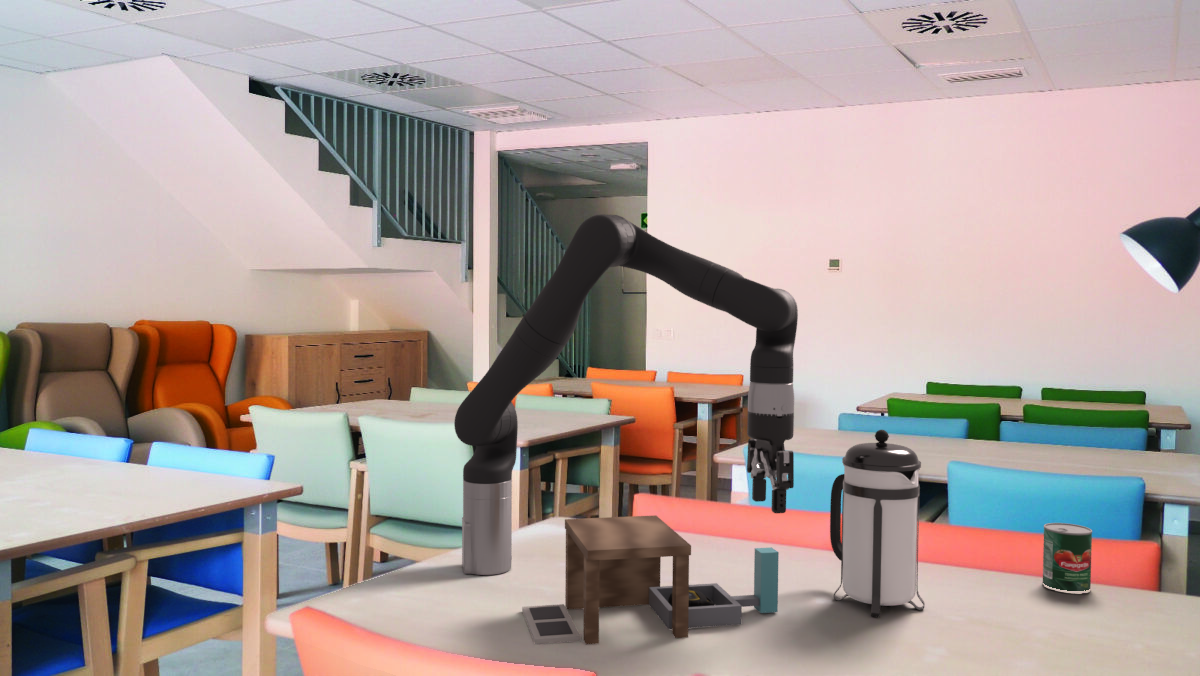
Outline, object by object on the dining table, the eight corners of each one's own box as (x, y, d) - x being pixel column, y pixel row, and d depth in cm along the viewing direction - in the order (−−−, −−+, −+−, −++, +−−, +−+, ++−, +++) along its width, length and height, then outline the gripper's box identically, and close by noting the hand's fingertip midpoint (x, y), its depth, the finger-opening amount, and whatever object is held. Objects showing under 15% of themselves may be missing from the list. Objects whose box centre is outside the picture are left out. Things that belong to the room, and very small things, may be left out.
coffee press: (929, 596, 165) (933, 426, 163) (919, 624, 150) (923, 438, 149) (829, 582, 172) (832, 420, 171) (810, 608, 157) (813, 431, 156)
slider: (668, 629, 146) (669, 566, 146) (648, 604, 158) (649, 546, 158) (788, 621, 150) (789, 559, 150) (760, 597, 162) (761, 540, 162)
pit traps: (534, 644, 140) (534, 638, 140) (522, 611, 155) (522, 606, 155) (580, 641, 142) (580, 635, 142) (563, 608, 156) (564, 603, 156)
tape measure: (716, 622, 151) (716, 599, 151) (676, 625, 149) (677, 602, 149) (700, 608, 158) (700, 586, 158) (662, 612, 156) (662, 589, 156)
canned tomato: (1062, 579, 175) (1063, 520, 175) (1100, 591, 168) (1102, 530, 168) (1032, 584, 172) (1034, 525, 171) (1070, 597, 165) (1072, 535, 164)
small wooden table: (587, 646, 139) (587, 550, 139) (564, 603, 159) (564, 519, 158) (690, 639, 143) (691, 545, 142) (655, 598, 162) (656, 515, 162)
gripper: (734, 404, 161) (732, 498, 161) (765, 415, 147) (763, 517, 148) (775, 404, 162) (773, 497, 163) (810, 414, 148) (807, 516, 149)
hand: (768, 506), depth 155 cm, fingers open, 8 cm apart
